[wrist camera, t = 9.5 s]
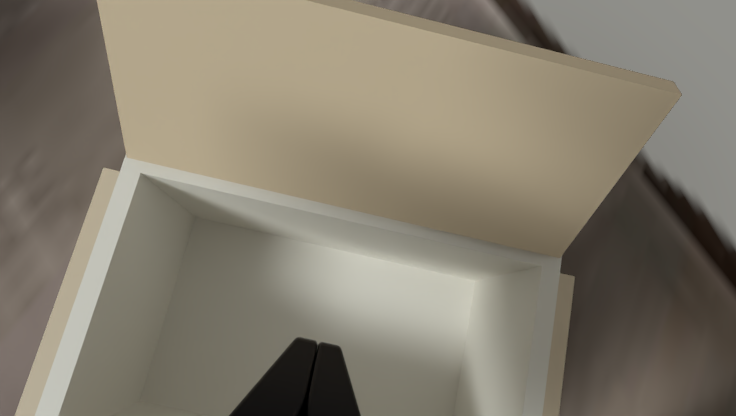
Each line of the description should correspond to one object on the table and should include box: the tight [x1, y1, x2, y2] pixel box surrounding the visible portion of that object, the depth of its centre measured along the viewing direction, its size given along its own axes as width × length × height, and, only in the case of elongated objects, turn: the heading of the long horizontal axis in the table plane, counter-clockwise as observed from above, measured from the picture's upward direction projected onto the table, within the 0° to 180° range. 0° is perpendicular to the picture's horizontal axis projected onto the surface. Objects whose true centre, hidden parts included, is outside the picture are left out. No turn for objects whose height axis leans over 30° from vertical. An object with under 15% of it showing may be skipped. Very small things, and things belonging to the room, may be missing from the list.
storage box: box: [15, 155, 575, 416], centre depth 18 cm, size 10×15×8 cm, turn 78°
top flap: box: [97, 0, 682, 258], centre depth 13 cm, size 6×14×1 cm
